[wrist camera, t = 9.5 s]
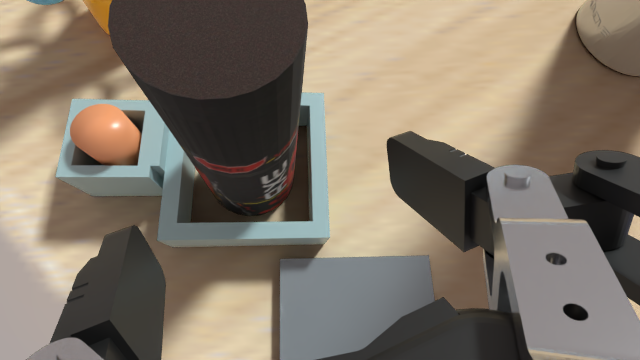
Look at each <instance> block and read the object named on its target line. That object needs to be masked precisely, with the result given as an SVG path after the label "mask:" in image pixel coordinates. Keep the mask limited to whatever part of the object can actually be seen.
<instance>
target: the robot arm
mask: <svg viewBox="0 0 640 360" xmlns="http://www.w3.org/2000/svg"><path fill="white" fill-rule="evenodd" d="M576 25H577V29H578V33H579V35H580V38H581V40H582V42H583V43H584V45H585V46H586V48H587V49H588V50H589V51H590V52H591V53H592V55H593V56H594V57H595V58H597V59H598V60H599V61H600V62H602V63H603V64H604V65H606V66H608V67H610V68H611V69H613V70H615V71H618V72H620V73H623V74H627V75H632V76H640V0H587V1H586V2H585V3H584V4H583V5H582V6H581V8H580V9H579V11H578V14H577V20H576ZM387 153H388V162H389V171H390V180H391V184H392V187H393V189H394V191H395V193H396V194H397V195H398V197H400V198H401V199H402V200H403V201H404V202H405V203H407V204H408V205H409V206H410V207H411V208H413V209H414V210H415V211H416V212H417V213H418V214H420V215H421V216H422V217H423V218H424V219H425V220H427V221H428V222H429V223H430V224H431V225H433V226H434V227H435V228H436V229H437V230H438V231H440V232H441V233H442V234H443V235H444V236H446V237H447V238H448V239H449V240H450V241H451V242H453V243H454V244H455V245H456V246H457V247H458V248H460V249H461V250H462V251H463V252H466V251H468V250H470V249H472V248H475V247H477V246H479V245H480V246H481V247H482V248H483V264H484V272H485V280H486V288H487V296H488V304H489V309H474V308H471V309H459V310H455V309H454V308H453V307H452V306H451V305H450V304H449V303H448V302H447V301H446V299H445V298H444V297H443V298H441V299H438V300H436V301H434V302H432V303H430V304H428V305H426V306H424V307H421V308H419V309H417V310H415V311H413V312H411V313H409V314H407V315H404V316H402V317H401V318H400V319H399V320H397V321H396V322H395V323H394V324H393V325H391V326H390V327H389V328H388V329H387V330H385V331H384V332H383V333H382V334H381V335H379V336H378V337H377V338H376V339H375V340H373V341H372V342H371V343H370V344H369V345H367V346H366V347H365V348H363V349H361V350H358V351H355V352H350V353H345V354H340V355H335V356H330V357H325V358H321V359H316V360H640V320H639V318H638V317H637V315H636V313H635V311H634V309H633V307H632V305H631V303H630V302H629V300H628V298H629V299H631V300H632V301H634V302H635V303H637V304H638V305H640V241H639V240H637V239H635V238H634V237H632V236H630V235H628V232H629V229H630V225H631V222H632V219H633V216H634V215H637V216H639V217H640V157H637V156H634V155H631V154H628V153H623V152H618V151H609V150H598V151H590V152H586V153H583V154H580V155H579V156H578V157H577V158H576V160H575V165H574V170H573V173H567V174H561V175H555V176H548V175H547V174H546V173H544V172H543V171H541V170H539V169H536V168H533V167H529V166H524V165H506V166H501V167H497V168H494V167H492V166H490V165H488V164H486V163H484V162H482V161H480V160H478V159H476V158H474V157H472V156H470V155H468V154H467V155H465V153H464V152H462V151H460V150H458V149H457V150H456V149H455V148H454V147H452V146H450V145H448V144H445V143H443V142H438V141H433V140H427V139H425V138H423V137H421V136H419V135H417V134H416V133H414V132H411V131H408V132H405V133H402V134H399V135H397V136H394V137H391V138H389V139H388V140H387ZM165 288H166V283H165V277H164V274H163V271H162V268H161V266H160V264H159V262H158V261H157V259H156V257H155V255H154V254H153V252H152V250H151V248H150V247H149V245H148V243H147V241H146V240H145V238H144V236H143V234H142V233H141V231H140V230H139V228H138V227H137V226H135V225H133V226H130V227H127V228H124V229H122V230H119V231H116V232H113V233H110V234H107V235H105V237H104V239H103V242H102V245H101V248H100V251H99V254H98V256H97V257H94V258H91V259H90V260H89V261H88V262H87V264H86V265H85V266H84V267H83V268H82V269H81V271H80V272H79V273H78V274H77V277H76V279H75V282H74V284H73V287H72V291H71V292H70V294H69V297H68V299H67V304H65V307H64V309H63V312H62V314H61V317H60V319H59V322H58V324H57V326H56V329H55V332H54V334H53V336H52V339H51V341H50V344H49V345H47V346H45V347H43V348H41V349H40V350H38V351H37V352H35V353H34V354H33V355H31V356H30V357H29V358H28V359H26V360H161V353H162V337H163V321H164V304H165ZM627 297H628V298H627Z"/></svg>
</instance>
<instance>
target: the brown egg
mask: <svg viewBox="0 0 640 360" xmlns="http://www.w3.org/2000/svg"><path fill="white" fill-rule="evenodd" d="M70 136H71V139H72V141H73V143H74V144H75V145H76V146H77V147H78V148H80V149H81V150H83V151H84V152H85V153H87V154H88V155H90V156H91V157H92V158H94V159H95V160H97V161H98V162H99V163H101V164H102V165H109V166H138V159H139V152H140V145H141V138H142V133H141V132H140V131H139V130H138V129H137V128H136V126H135V125H134V124H133V123H132V122H131V121H130V120H129V118H128V117H127V116H126V115H125V114H124V113H123V112H122V111H121V110H120V109H119V108H117V107H115V106H113V105H110V104H96V105H92V106H89V107H87V108H85V109H83V110H82V111H81V112H79V113H78V114H77V115H76V117H75V118H74V119H73V121H72V123H71V126H70Z"/></svg>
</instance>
